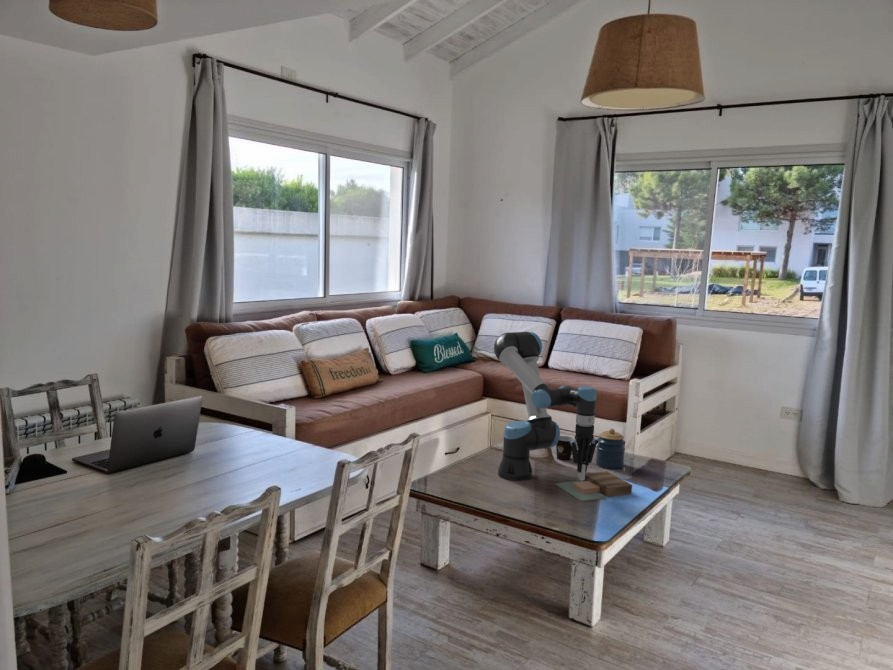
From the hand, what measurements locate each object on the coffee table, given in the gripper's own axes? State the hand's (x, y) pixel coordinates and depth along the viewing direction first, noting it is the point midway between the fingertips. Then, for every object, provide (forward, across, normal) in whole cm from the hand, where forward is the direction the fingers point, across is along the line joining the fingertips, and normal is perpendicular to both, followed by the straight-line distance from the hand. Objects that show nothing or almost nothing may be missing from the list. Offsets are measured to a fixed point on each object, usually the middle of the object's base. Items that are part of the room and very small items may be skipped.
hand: (581, 479), depth 286 cm
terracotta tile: (+5, +2, 0) cm, 5 cm away
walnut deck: (+5, +13, 0) cm, 14 cm away
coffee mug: (+5, +17, +39) cm, 43 cm away
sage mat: (+5, 0, 0) cm, 5 cm away
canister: (+5, +33, +26) cm, 42 cm away
